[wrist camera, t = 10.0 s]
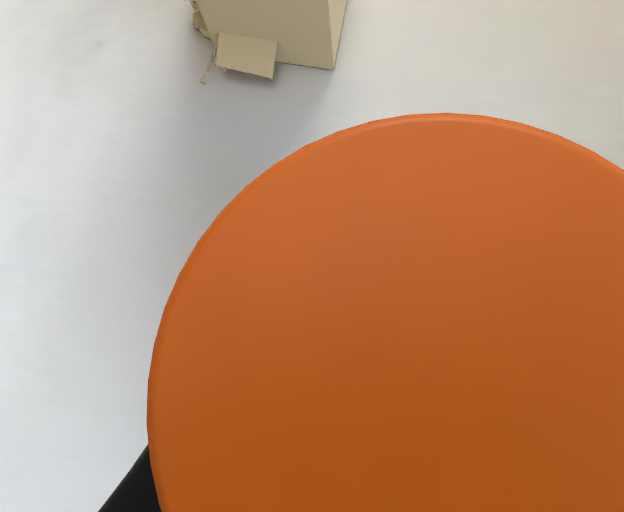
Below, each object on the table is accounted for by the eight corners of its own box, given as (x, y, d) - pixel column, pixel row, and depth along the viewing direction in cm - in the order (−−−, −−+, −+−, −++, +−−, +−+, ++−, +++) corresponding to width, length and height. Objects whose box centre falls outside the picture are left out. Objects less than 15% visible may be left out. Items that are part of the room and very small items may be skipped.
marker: (399, 413, 15) (706, 882, 2) (298, 379, 15) (50, 608, 3) (428, 311, 15) (835, 195, 3) (329, 280, 16) (252, 46, 3)
